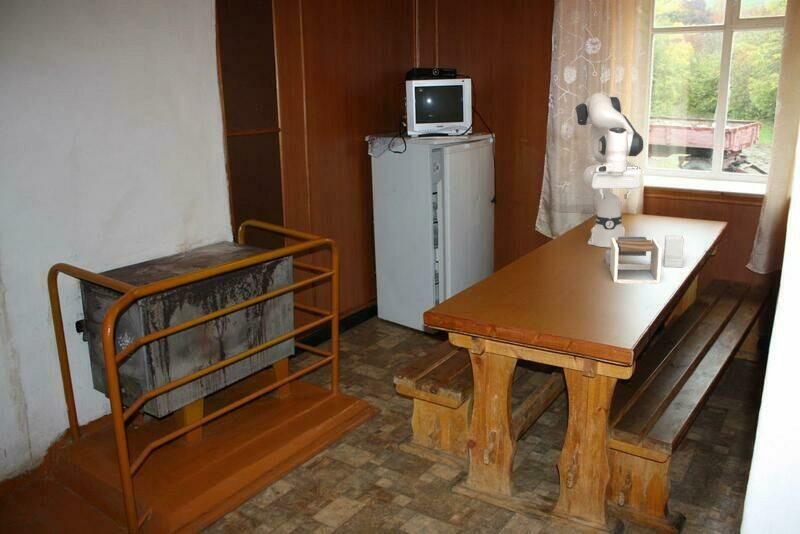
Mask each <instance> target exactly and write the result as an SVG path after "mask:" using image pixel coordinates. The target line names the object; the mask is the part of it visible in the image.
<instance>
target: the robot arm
mask: <svg viewBox="0 0 800 534" xmlns="http://www.w3.org/2000/svg"><path fill="white" fill-rule="evenodd" d="M622 110H623V106H622V103H621V101H620V99H619V98H618V97H617V96H608V95H606V94H605V93H603V92H595V93H594V94H592V95H591V96H590V97H589V99H588V101H587V102H581V103H579V104H577V105H576V106H575V108H574V111H573V112H574V113H573V116H574V120H575V121H576V123H577V124H578V125H579V126H587V125H590V127H589V139H590V145H591V150H592V154H593V157H594V159H595V160H596V161H597V162H599V164H593V165H590V166H587V167H586V168H584V170H583V174H582V179H583V182H584V185H585V186H587V187H588V188H589V189H590V190H591V191H592V192H593V193H594V195H595V199H596V215H595V225H594V226H593V227H592V228H590V234H591V235H590V238H589V239H588V241H587V245H589V246H590V245H591V246H595V247H598V248H600V247H601V248H611V238H614V239H615V241H616V240H618V237H625V233H626V232H625V231H626V230H625V227H624V226H623V225H622V224H623V217H622V216H623V215H622V200H621V198H620V197H619V196H618V195H616V194H614V193H612V192H611V190H612V189H613V190H614V189H616V190H617V189H623V190H624V189H627V192H626V193H624V196H623V198H624V200H628V199H629V195H630V194H631V192H632V189H639V188H640V187H641V176H642V169H641V168H640V167H639V166H637V165H635V164H633V163H632V162H630V161H628V157H637V156H638V155H639V154H641V152H643V149H644V139H643V137H642V135H640V134H639V133H638V132H637V131H636V129H635V127H634V126H633V125H632V123H631V122H630V120H629V119H628V118H627V116H626V115H624V114H623V113H622ZM616 244H617V246H618V243H616Z"/></svg>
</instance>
